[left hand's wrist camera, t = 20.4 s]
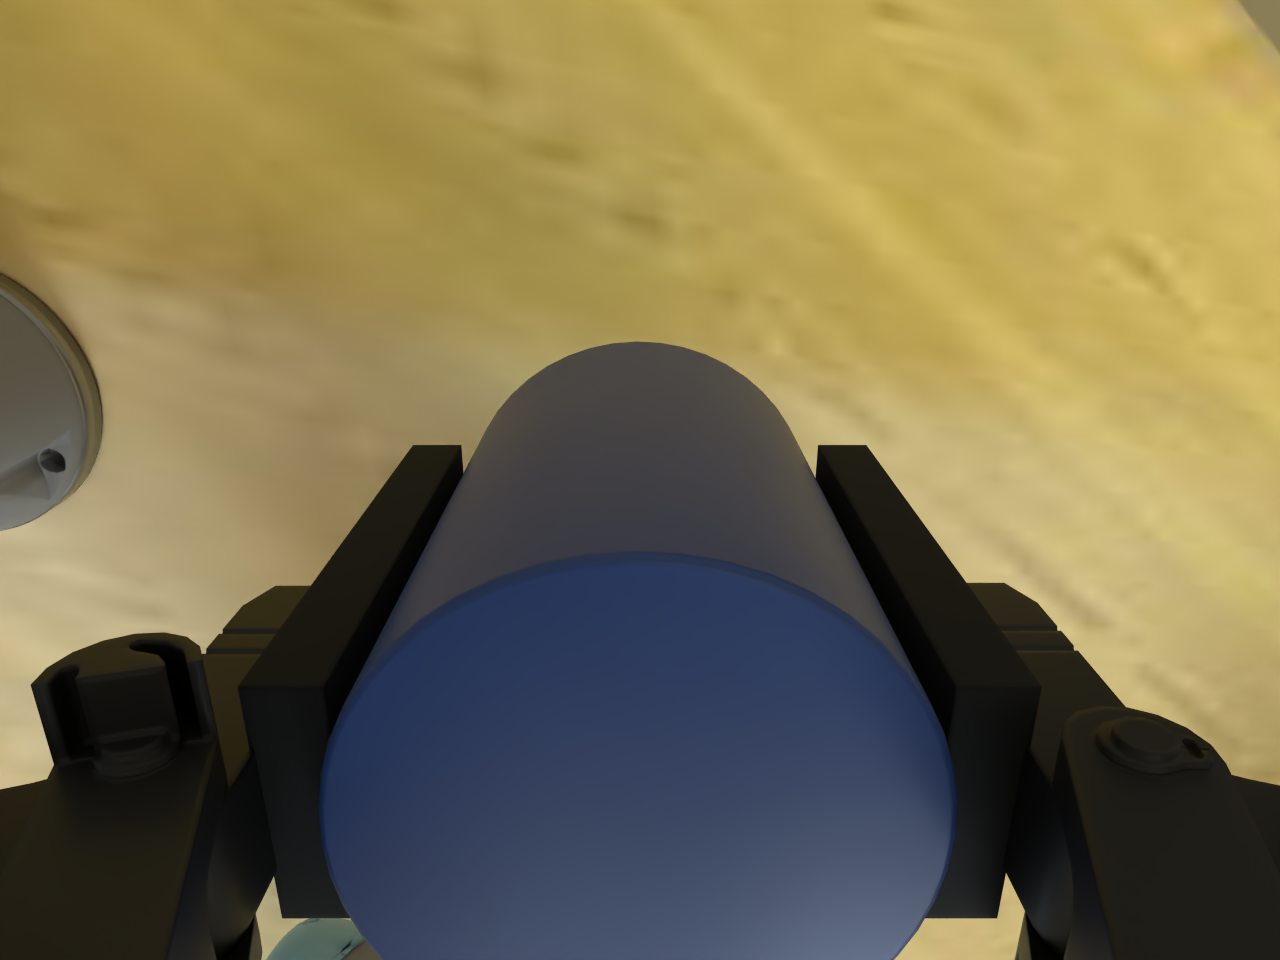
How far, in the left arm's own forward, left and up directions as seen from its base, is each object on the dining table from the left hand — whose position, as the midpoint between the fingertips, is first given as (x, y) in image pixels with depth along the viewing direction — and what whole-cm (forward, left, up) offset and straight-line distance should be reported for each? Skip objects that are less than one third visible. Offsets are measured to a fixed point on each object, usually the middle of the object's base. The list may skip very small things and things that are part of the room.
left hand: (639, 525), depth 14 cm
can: (0, 0, -1) cm, 1 cm away
